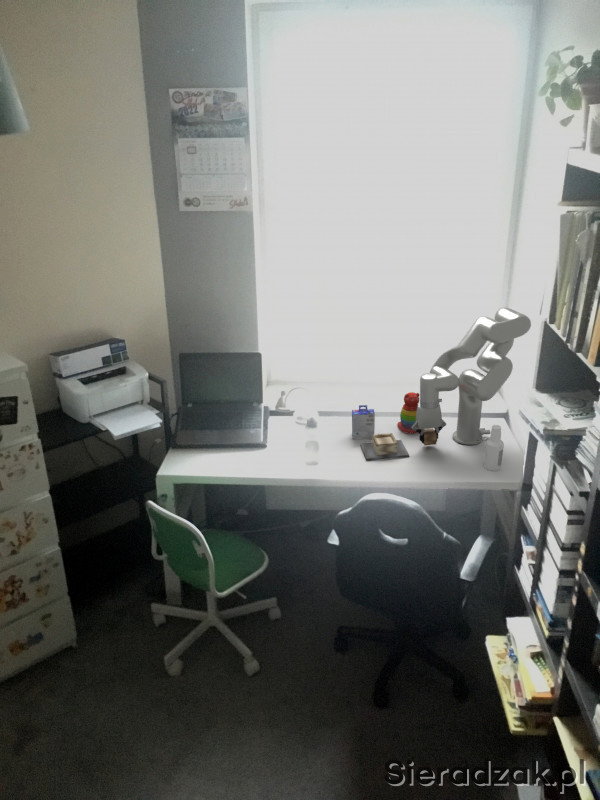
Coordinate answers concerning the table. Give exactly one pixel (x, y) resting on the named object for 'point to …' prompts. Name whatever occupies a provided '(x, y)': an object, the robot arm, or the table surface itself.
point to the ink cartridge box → (363, 423)
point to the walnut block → (429, 437)
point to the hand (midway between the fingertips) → (428, 440)
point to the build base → (388, 456)
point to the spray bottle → (494, 450)
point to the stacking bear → (409, 413)
